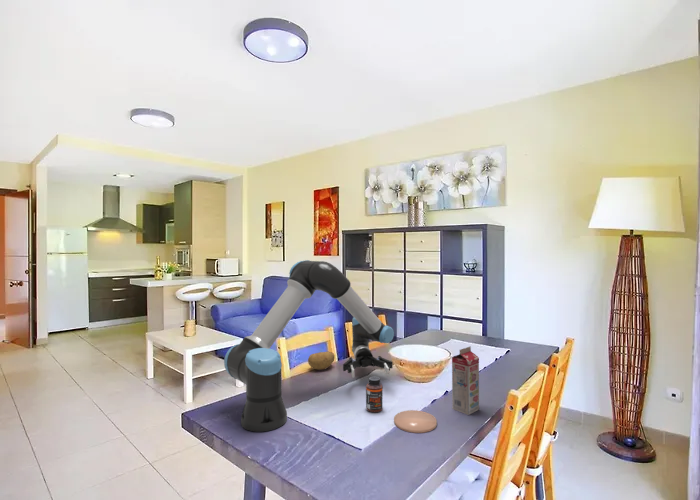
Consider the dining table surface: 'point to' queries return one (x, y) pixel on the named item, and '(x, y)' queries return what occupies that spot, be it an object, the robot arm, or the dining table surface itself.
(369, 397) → the supplement bottle
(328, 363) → the potato
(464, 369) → the juice carton
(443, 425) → the dining table surface
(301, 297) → the robot arm
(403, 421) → the saucer
